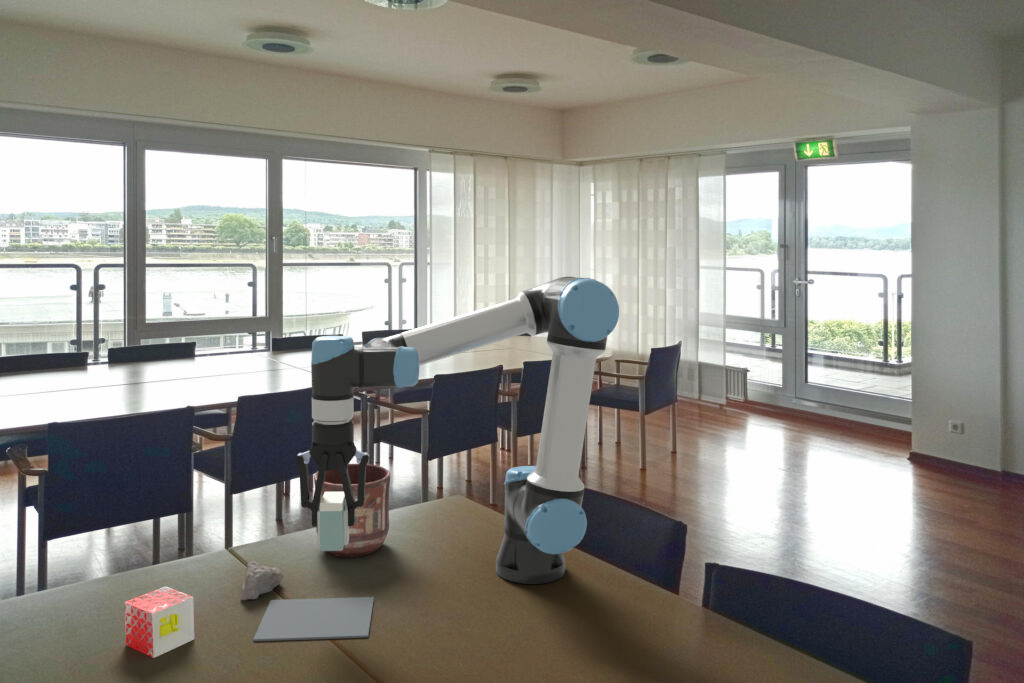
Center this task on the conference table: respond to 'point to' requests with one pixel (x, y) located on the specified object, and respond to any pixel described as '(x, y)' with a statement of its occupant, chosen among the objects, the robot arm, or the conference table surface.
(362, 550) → the pottery
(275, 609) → the slate mat
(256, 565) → the stone
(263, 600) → the conference table surface
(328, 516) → the painted block
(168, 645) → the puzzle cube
